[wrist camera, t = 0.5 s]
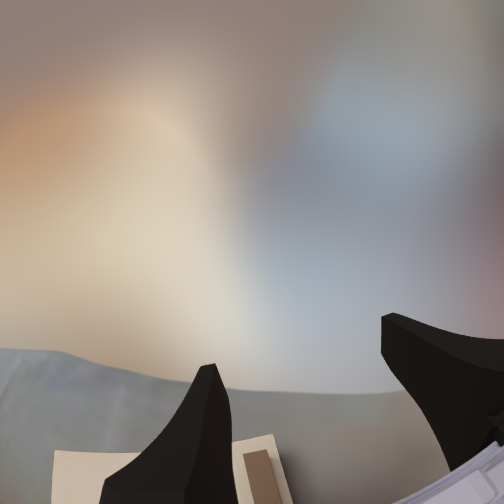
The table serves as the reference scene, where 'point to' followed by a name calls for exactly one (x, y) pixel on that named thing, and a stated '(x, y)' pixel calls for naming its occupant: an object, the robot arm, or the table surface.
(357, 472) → the table surface
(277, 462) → the lid
